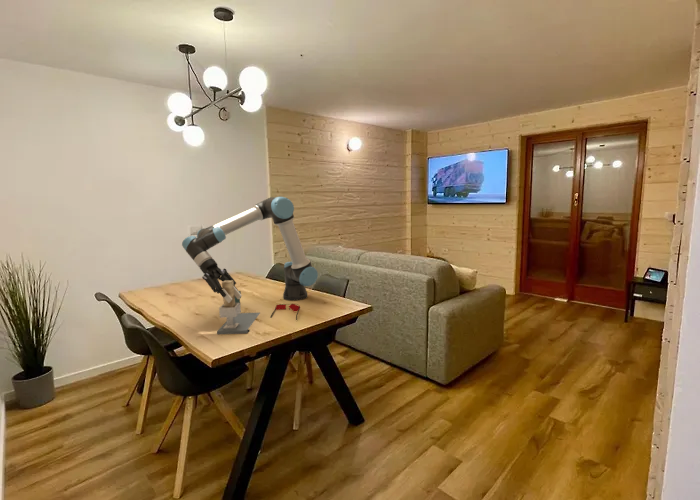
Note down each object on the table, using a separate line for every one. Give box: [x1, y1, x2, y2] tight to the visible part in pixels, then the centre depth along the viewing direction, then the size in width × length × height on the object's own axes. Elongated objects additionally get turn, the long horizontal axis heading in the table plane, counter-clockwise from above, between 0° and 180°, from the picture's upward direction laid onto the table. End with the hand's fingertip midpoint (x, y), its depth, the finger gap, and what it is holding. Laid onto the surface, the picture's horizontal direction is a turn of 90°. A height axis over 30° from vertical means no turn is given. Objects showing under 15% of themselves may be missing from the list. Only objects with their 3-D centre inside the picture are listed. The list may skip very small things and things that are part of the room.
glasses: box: [270, 303, 301, 321], centre depth 189 cm, size 14×16×5 cm
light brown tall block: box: [221, 280, 235, 307], centre depth 169 cm, size 4×4×14 cm
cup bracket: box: [218, 302, 242, 329], centre depth 170 cm, size 8×8×11 cm
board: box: [216, 312, 261, 335], centre depth 179 cm, size 14×26×2 cm, turn 1°
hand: (235, 299), depth 168 cm, fingers open, 5 cm apart
